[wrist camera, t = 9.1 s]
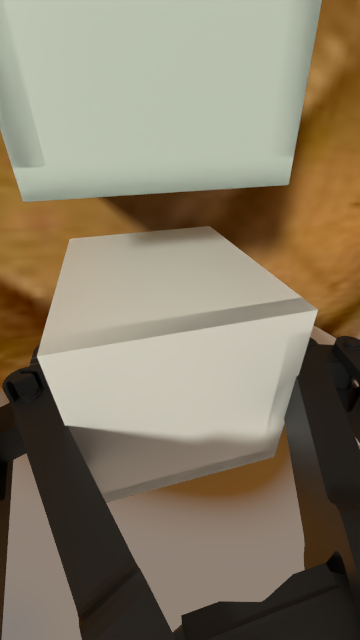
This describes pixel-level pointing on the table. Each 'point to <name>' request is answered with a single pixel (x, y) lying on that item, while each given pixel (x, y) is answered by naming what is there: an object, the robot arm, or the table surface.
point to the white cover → (170, 356)
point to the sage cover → (152, 94)
